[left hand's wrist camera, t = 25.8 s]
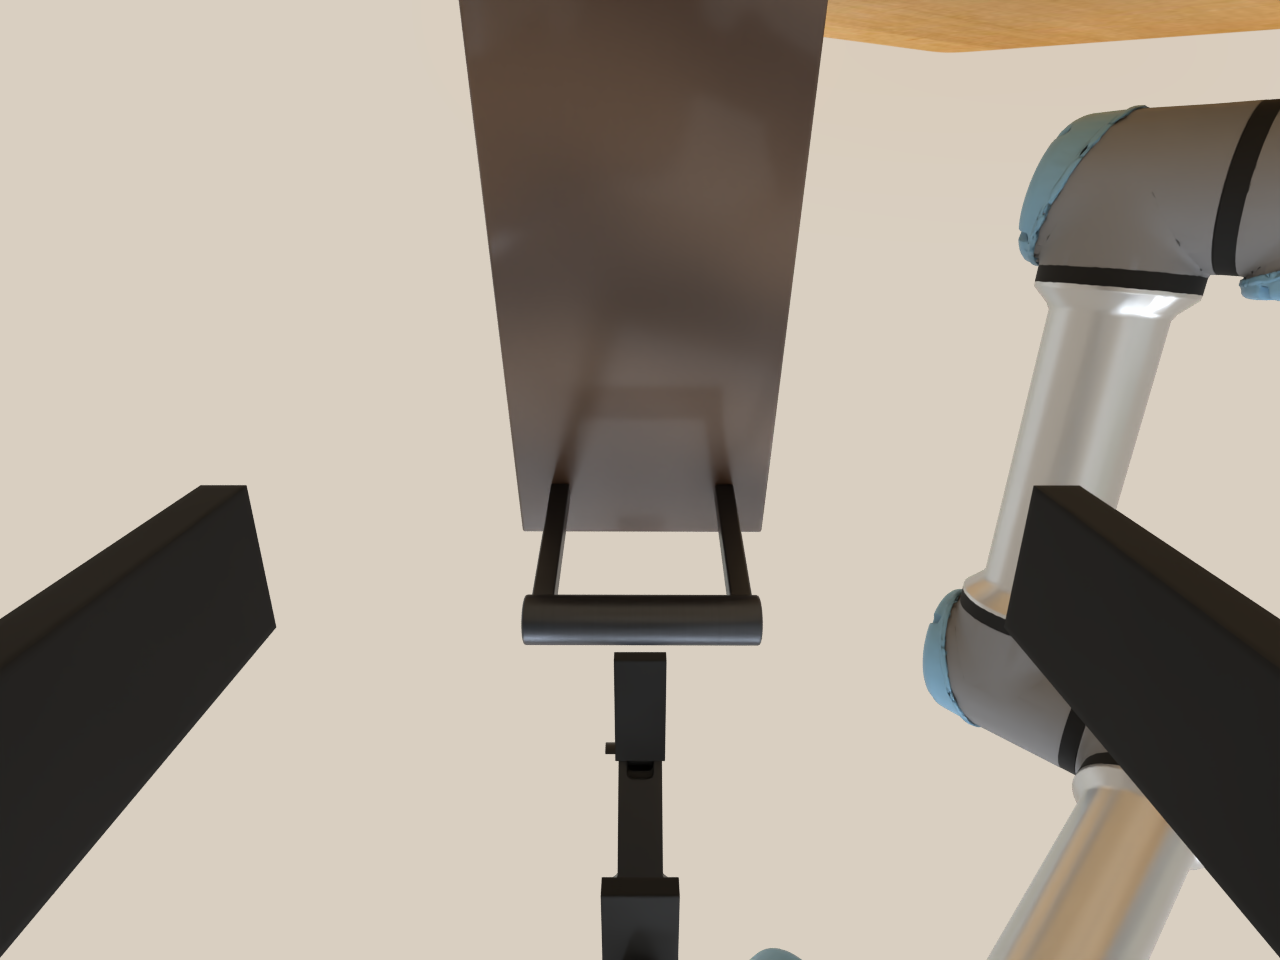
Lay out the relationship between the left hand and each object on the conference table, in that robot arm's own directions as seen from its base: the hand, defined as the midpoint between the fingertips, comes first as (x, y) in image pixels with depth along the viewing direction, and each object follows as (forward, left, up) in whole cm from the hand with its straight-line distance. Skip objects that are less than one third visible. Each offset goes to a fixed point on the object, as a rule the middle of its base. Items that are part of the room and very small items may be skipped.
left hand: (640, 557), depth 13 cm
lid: (+13, -6, -2) cm, 14 cm away
